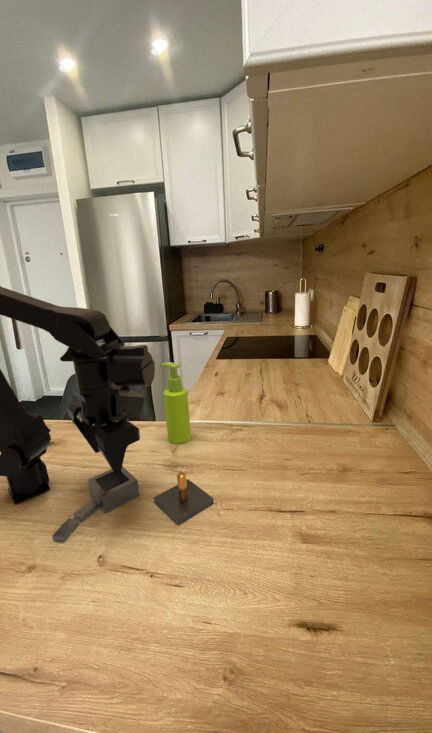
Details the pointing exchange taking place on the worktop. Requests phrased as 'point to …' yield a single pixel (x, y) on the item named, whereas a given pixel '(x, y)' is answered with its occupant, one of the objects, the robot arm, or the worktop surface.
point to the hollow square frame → (113, 489)
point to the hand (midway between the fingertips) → (107, 461)
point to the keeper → (183, 500)
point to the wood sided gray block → (65, 530)
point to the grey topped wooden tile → (86, 511)
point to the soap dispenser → (176, 407)
